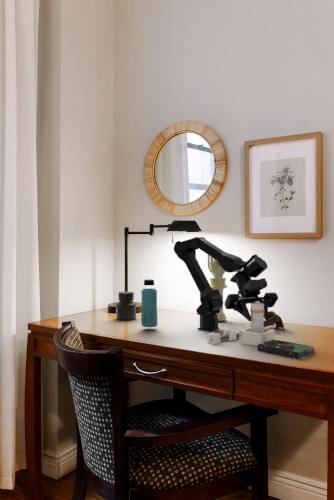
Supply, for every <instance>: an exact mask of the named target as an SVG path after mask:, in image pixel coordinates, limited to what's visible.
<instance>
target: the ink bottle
mask: <svg viewBox="0 0 334 500" xmlns="http://www.w3.org/2000/svg"><path fill="white" fill-rule="evenodd" d="M134 294H135V293H134V292H133V291H119V292H118V302H117V303H116V305H115V307H116V309H115V317H116V320H118V321H119V320H120V321H131V320H136V318H137V305H136V303H135V302H134V299H135V297H134V296H135V295H134Z"/></svg>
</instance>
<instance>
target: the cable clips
mask: <svg viewBox="0 0 334 500" xmlns="http://www.w3.org/2000/svg"><path fill="white" fill-rule="evenodd" d="M249 327H250V326H242V330H243V329H246V328H249ZM236 333H237V330H235V329H234V330H232V329H231V328H228V329H224V330H223V336H225V335H229V338H228V339H226V340H225V341H235V340H237V337H236ZM220 336H221V333H216V332H214V331H211V332H209V333H207V344H211V345H217V344H218V345H219V344H221V341H220ZM212 338H213V341H212Z"/></svg>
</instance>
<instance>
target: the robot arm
mask: <svg viewBox="0 0 334 500" xmlns="http://www.w3.org/2000/svg"><path fill="white" fill-rule="evenodd" d="M198 249H199V250H200V251H202V252H203V253H205V254H206V255H207V256H208V255H209V256H211V257H212V258H213V259H215V260H217V261H218V262H219V264H220V266H221V267H222V268H223V269H224V270H225V271H226V272H227V273H234V274H232V276H231V277H230V281H229V282H232V283H235V284H236V287H237V288H238V290H237V293H228V295H227V296H226V299H225V301H224V296H223V297H222V296H221V295H220V292H219V290H218V289H216V290H214V289H212V288H211V286H210V285H211V283H209V280H208V279H207V277H206V275H205V273H204V270H203V269H202V267H201V266H200V262H199V261H198V259H197V255H196V254H197V252H196V250H198ZM173 252H174V253H175V254H176V256H177V258H178V259H179V260H181V261H182V262H184V264H185V265H186V268H187V270H188V272H189V274H190V276H191V278H192V279H193V281H194V283H195V285H196V287H197V290H198V291H199V301H200V305H199V306H198V307H197V308H196V313H197V315H198V316H199V327H198V328H197V330H200V331H206V332H214V331H216V330H219V329H220V327H219V321H218V318H217V314H216V313H219V312H220V309H221V308H222V306H223V307H225V310H233V311H235V312H237V313H239V314H241V316H242V317H243V318H245V319H246V320H248V321H247V322H251V313H250V310H249V308H248V307H247V304H251V303H255V301H260V303H263V304H264V321H265V320H266V321H267V320H268V312H269V308H273V307H274V306H275V305H276V303H277V301H278V300H279V296H278V294H277V293H276V292H265V293H264V295H263V296H260V295H261V293H262V291H261V290H264V289H265V288H266V287H268V282H267V280H266V278H265V277H263V278H260V279H256V278H258V277H259V276H260V275H261V274H263V273H264V272H265V271H266V270H267V269H268V264H267V262H266V261H265V260H264V259H263V258H262V257H260V256H259V255H258V254H253V255H252V256H251V257H250V258H249V259H248V260H247V261H244V259H242V257H239V256H238V255H235V254H232V253H229V252H226V251H224V250H223V249H221V248H219V247H218V246H217V245H215V244H214V243H212V242H210V241H208V240H207V239H206V238H205V237H203V236H195V237H193V238H188V239H186V240H179V241H176V242H175V243H174V245H173ZM226 272H225V273H226ZM252 278H255V279H252ZM222 298H223V300H222Z"/></svg>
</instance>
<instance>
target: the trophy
mask: <svg viewBox="0 0 334 500" xmlns="http://www.w3.org/2000/svg"><path fill="white" fill-rule="evenodd" d="M207 267H208V271H209V272H210V273H211V274H212V276H213V277H209V280H210V286H211V288H212V289H214V290H216V289H218V290H219V292H220V295H221V296H222V297H223V298H222V300H223V301H224V289H226V288H228V286H227V285H226V280H227V278H226V277H224V274H225V273H226V271H225V270H224V269H223V268H222V267H221V266H220V264H219V262H218V261H217V260H215V259H214V258H212V257H211V256H209V255H208V254H207ZM216 314H217V318H218V322H223V321H225V320H227V316H226V313H224V305H223V306H222V308H221V309H220V312H219V313H216Z"/></svg>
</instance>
